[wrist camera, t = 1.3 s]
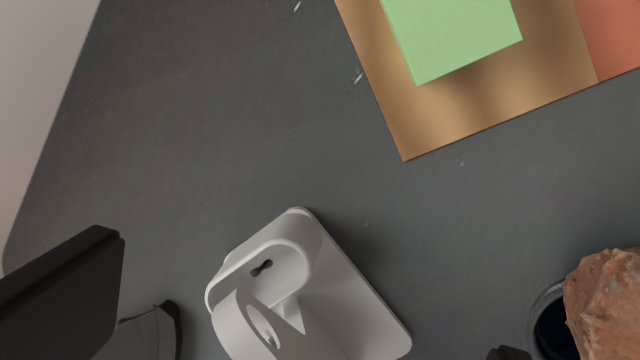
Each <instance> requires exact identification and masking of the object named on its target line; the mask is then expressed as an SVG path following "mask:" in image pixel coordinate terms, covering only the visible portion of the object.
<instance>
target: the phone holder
mask: <svg viewBox="0 0 640 360" xmlns="http://www.w3.org/2000/svg"><path fill="white" fill-rule="evenodd" d="M267 259H268V260H267ZM265 260H267V261H266V262H264V261H265ZM263 262H264V263H263ZM205 303H206V306H207V308H208V310H209V312H210V313H211V314H212V324H213V327H214V330H215V332H216V335H217V337H218V339H219V341H220V342H221V344H222V346H223V347H224V349H225V350H226V352H227V353H228V354H229V356H230V357H231V358H232V360H396V359H398V358H400V357H402V356H404V355H405V354H407V353H408V352H409V351H410V349H411V347H412V340H411V335H410V333H409V331H408V330H407V329H406V328H405V326H404V325H403V324H402V323H401V321H400V320H399V319H398V318H397V317H396V315H395V314H394V313H393V312H392V310H391V309H390V308H389V307H388V306H387V304H386V303H385V302H384V301H383V299H382V298H381V297H380V296H379V295H378V293H377V292H376V291H375V290H374V288H373V287H372V286H371V285H370V284H369V282H368V281H367V280H366V279H365V277H364V276H363V275H362V274H361V273H360V271H359V270H358V269H357V268H356V266H355V265H354V264H353V263H352V262H351V260H350V259H349V258H348V257H347V255H346V254H345V253H344V252H343V251H342V249H341V248H340V247H339V246H338V244H337V243H336V242H335V241H334V240H333V238H332V237H331V236H330V235H329V233H328V232H327V231H326V230H325V229H324V227H323V226H322V225H321V224H320V222H319V221H318V220H317V219H316V218H315V216H314V215H313V214H312V213H311V212H310V211H309V210H308V209H307V208H304V207H301V206H295V207H292V208H290V209H288V210H287V211H286V212H284V213H283V214H282V215H280V216H279V217H278V218H276V219H275V220H273V221H272V222H271V223H269V224H268V225H267V226H265V227H264V228H263V229H261V230H260V231H259V232H257V233H256V234H254V235H253V236H252V237H250V238H249V239H248V240H246V241H245V242H244V243H242V244H241V245H240V246H238V247H237V248H235V249H234V250H233V251H231V252H230V253H229V254H228V256H227V257H226V258H225V260H224V264H223V266H222V267H221V269H220V270H219V271H218V273H217V274H216V275H215V277H214V278H213V279H212V280H211V282H210V283H209V284H208V286H207V288H206V292H205Z"/></svg>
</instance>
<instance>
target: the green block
mask: <svg viewBox="0 0 640 360" xmlns="http://www.w3.org/2000/svg"><path fill="white" fill-rule="evenodd" d="M380 3H381V5H382V8H383V10H384V13H385V15H386V18H387V20H388V23H389V25H390V28H391V30H392V32H393V35H394V37H395V40H396V42H397V45H398V47H399V50H400V52H401V55H402V57H403V60H404V62H405V64H406V67H407V69H408V72H409V74H410V77H411V79H412V82H413V83H414V84H415V85H416V86H417V87H418V86H421V85H423V84H425V83H427V82H430V81H432V80H434V79H436V78H438V77H441V76H443V75H445V74H447V73H450V72H452V71H454V70H456V69H459V68H461V67H463V66H465V65H468V64H470V63H472V62H474V61H477V60H479V59H481V58H483V57H486V56H488V55H490V54H492V53H495V52H497V51H499V50H501V49H503V48H506V47H508V46H510V45H512V44H515V43H517V42H519V41H521V40H523V38H522V35H521V32H520V29H519V26H518V23H517V20H516V17H515V14H514V11H513V9H512V6H511V3H510V0H380Z"/></svg>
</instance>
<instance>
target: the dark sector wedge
mask: <svg viewBox="0 0 640 360" xmlns="http://www.w3.org/2000/svg"><path fill="white" fill-rule="evenodd" d="M153 306H154V309H152V310H150V311H148V312H146V313H144V314H141V315H139V316H135V317H132V318H128V319H122V320H120V321H119V322H118V323H117V324H116V325H115V330H114V333H113V335H112V337H111V338H110V340H109V341H108V342H107V343H106V344H105V345H104V346H103V347H102V348H101V349H100V351H99V352H98V353H97V354H96V355H95V356H94V357H93V358H92V359H91V360H179V357H180V354H181V338H182V337H181V326H180V321H179V315H178V310H177V308H176V307H175V305H174V304H173V303H172V302H170V301H169V300H166V301H165V302H164V303H162V304H161V305H159V306H155V305H153Z"/></svg>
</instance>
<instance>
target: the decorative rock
mask: <svg viewBox="0 0 640 360" xmlns="http://www.w3.org/2000/svg"><path fill="white" fill-rule="evenodd" d="M562 287H563V293H564V299H563V301H564V305H565V309H566V315H567V320H566V322H565V323H566V324H567V325H568V327H569V328H570V330H571V333H572V335H573V337H574V340H575V343H576V346H577V348H578V351H579V354H580V357H581V360H640V246H635V247H630V248H625V249H620V248H614V249H604V250H603V251H601V252H598V253H594V254H591V255H588V256H586V257H583V258H582V259H581V261H580V264H579V266H578V267H577V268H576V269H575V270H573V271H572V272H571V273H570V274H568V275H567V276H566V279H565V281H564V282H563V284H562Z"/></svg>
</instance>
